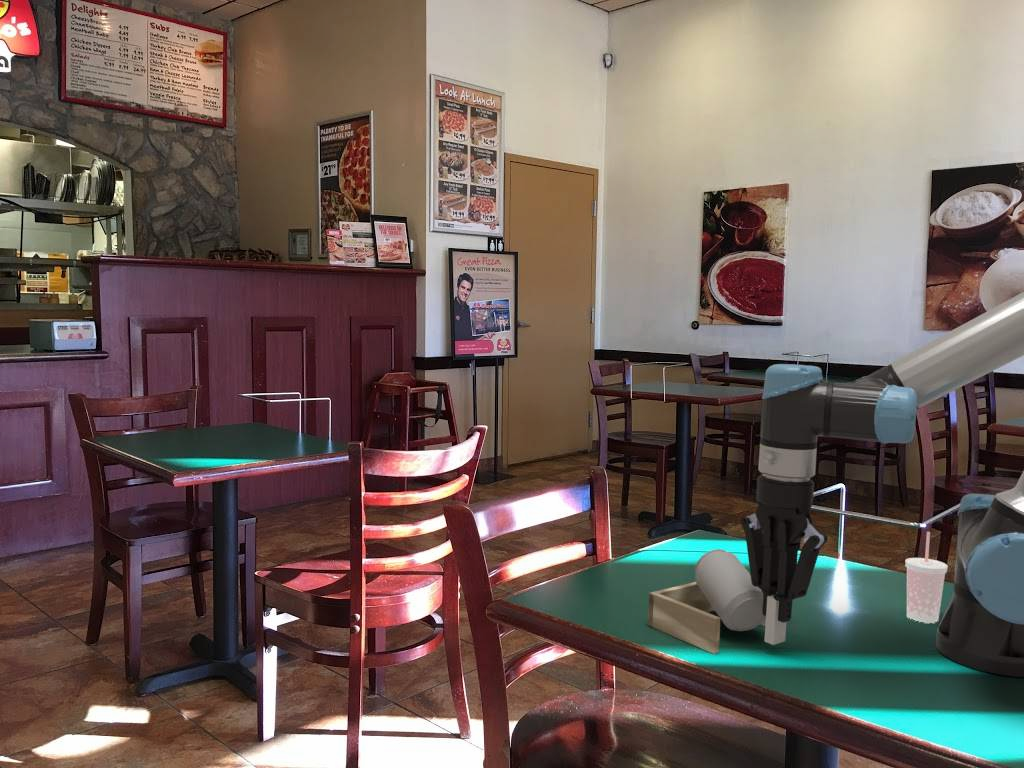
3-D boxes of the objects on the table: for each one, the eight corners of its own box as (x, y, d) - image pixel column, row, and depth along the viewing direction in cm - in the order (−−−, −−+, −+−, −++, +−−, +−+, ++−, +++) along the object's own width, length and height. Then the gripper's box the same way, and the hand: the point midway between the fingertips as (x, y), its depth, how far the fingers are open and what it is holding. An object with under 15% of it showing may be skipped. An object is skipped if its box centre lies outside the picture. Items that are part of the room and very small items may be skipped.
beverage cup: (948, 627, 136) (955, 538, 134) (906, 623, 137) (912, 535, 136) (937, 613, 142) (943, 528, 140) (897, 610, 143) (903, 525, 142)
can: (755, 639, 129) (718, 588, 140) (782, 600, 127) (742, 551, 138) (716, 629, 126) (681, 577, 137) (743, 589, 124) (706, 539, 135)
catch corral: (718, 606, 142) (720, 576, 142) (785, 631, 132) (787, 599, 131) (647, 624, 133) (649, 592, 132) (713, 653, 122) (715, 619, 122)
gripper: (730, 470, 124) (720, 631, 126) (810, 487, 114) (798, 663, 116) (764, 465, 129) (754, 621, 131) (843, 482, 118) (831, 651, 120)
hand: (774, 641), depth 123 cm, fingers closed
